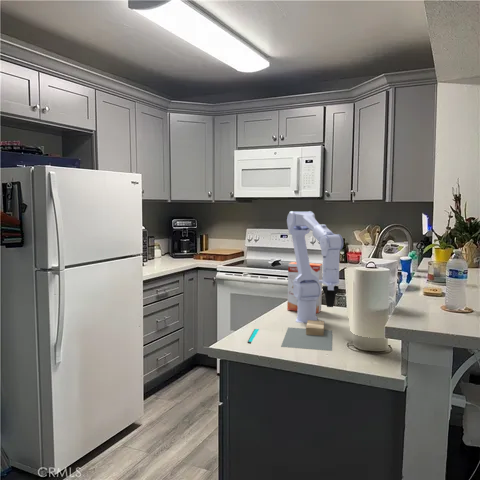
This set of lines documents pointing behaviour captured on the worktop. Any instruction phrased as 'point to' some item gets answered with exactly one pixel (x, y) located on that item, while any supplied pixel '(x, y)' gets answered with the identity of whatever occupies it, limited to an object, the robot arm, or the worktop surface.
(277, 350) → the worktop surface
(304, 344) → the rubber mat
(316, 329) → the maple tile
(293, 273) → the cracker box
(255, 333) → the smartphone
